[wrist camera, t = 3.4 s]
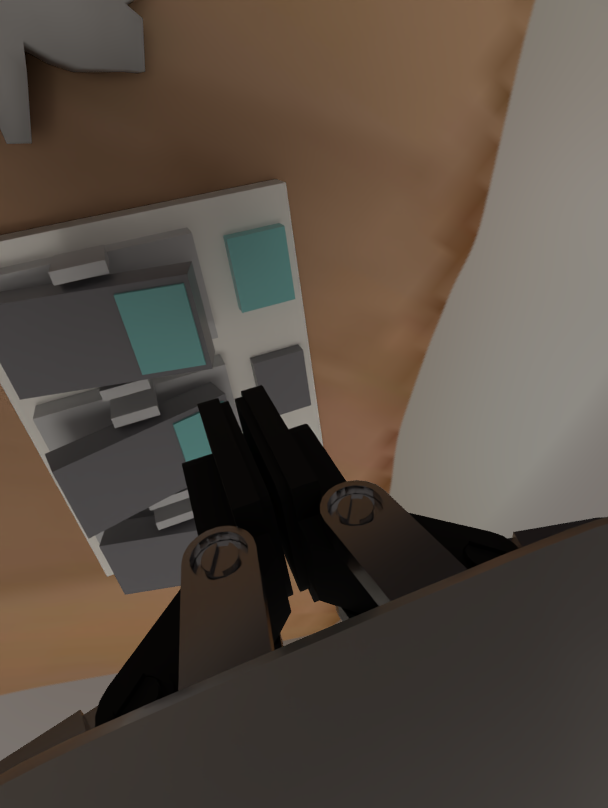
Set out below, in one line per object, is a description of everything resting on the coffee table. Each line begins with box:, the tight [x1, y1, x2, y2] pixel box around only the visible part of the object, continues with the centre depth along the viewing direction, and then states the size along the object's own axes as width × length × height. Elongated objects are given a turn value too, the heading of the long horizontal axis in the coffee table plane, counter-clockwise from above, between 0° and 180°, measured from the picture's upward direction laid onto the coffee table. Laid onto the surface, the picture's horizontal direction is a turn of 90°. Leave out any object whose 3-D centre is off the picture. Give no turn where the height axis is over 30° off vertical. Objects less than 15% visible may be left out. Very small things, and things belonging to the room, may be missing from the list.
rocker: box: [99, 515, 198, 594], centre depth 27 cm, size 4×8×2 cm, turn 98°
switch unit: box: [0, 179, 323, 577], centre depth 26 cm, size 20×15×5 cm
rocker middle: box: [45, 382, 227, 539], centre depth 23 cm, size 4×8×2 cm, turn 98°
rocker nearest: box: [0, 261, 215, 400], centre depth 20 cm, size 4×8×2 cm, turn 98°
